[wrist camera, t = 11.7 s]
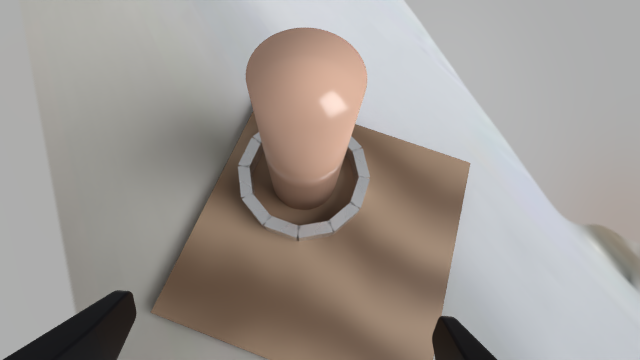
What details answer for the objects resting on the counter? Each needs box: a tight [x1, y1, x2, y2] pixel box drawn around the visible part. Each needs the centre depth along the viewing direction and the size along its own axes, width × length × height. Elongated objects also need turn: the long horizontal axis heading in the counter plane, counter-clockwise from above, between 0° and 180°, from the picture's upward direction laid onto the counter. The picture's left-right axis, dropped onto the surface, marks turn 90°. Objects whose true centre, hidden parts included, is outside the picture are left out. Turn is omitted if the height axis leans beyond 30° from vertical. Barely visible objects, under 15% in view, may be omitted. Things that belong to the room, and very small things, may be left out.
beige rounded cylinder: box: [246, 28, 367, 210], centre depth 18 cm, size 5×5×12 cm
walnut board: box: [151, 111, 470, 360], centre depth 23 cm, size 18×18×1 cm
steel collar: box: [238, 132, 370, 242], centre depth 23 cm, size 9×9×2 cm
